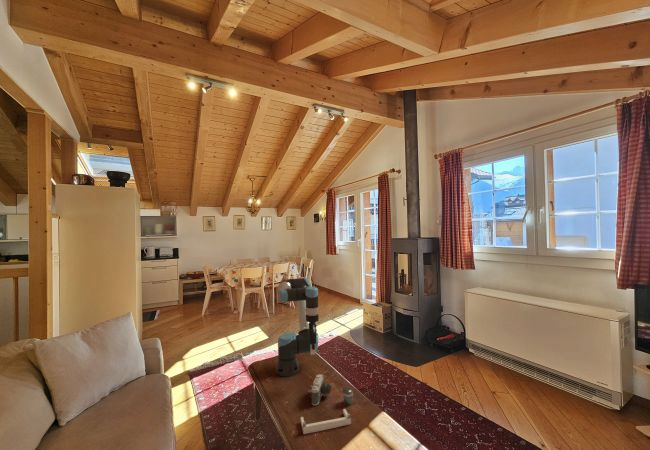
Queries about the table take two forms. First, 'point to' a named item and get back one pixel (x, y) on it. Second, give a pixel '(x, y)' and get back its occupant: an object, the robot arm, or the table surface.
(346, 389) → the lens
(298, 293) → the robot arm
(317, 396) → the camera
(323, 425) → the bracket
